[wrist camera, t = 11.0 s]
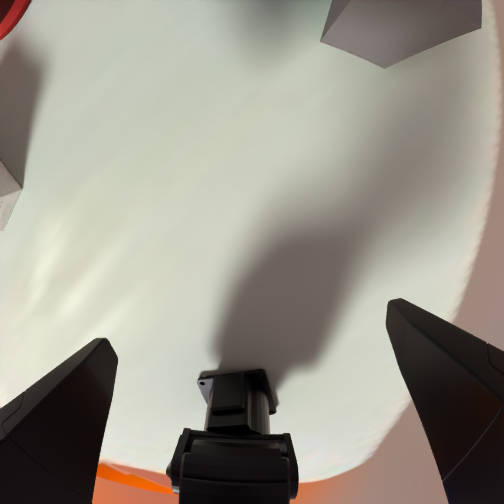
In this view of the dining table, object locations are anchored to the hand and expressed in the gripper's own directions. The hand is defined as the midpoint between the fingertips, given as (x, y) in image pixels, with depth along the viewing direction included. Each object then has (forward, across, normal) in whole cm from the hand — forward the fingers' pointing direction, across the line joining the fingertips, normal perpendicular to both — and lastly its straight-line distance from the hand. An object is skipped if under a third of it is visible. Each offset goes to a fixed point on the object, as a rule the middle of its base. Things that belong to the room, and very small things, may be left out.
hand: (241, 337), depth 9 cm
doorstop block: (+14, -10, -12) cm, 21 cm away
